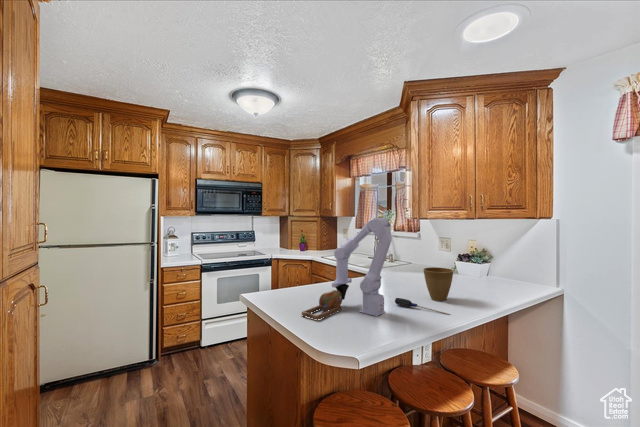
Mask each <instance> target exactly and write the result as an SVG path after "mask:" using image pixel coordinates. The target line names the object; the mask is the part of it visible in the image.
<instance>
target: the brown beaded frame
mask: <svg viewBox="0 0 640 427" xmlns="http://www.w3.org/2000/svg"><path fill="white" fill-rule="evenodd" d="M342 307H343V306H342V305H340V306H338V307H336V308H333V309H331V310H329V311H323V312H321V313H319V314H314V313H315V312H314V311H316V310H319V309H320V307H319V305H316V306H313V307H311V308H308V309H306V310H303V311H301V316H302V315H303V316H307V317H310V318H313V319H317V320H318V319H321V318H323V317H326V316H328V315H330V314H332V315H334V314H333V313H335V312H337V311H339V312H341V311H342V310H343V308H342ZM340 310H341V311H340ZM319 311H320V310H319ZM311 312H314V313H312V314H311ZM337 313H338V312H337ZM335 314H336V313H335ZM330 316H331V315H330ZM328 317H329V316H328ZM326 318H327V317H326ZM323 319H324V318H323ZM321 320H322V319H321Z"/></svg>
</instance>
